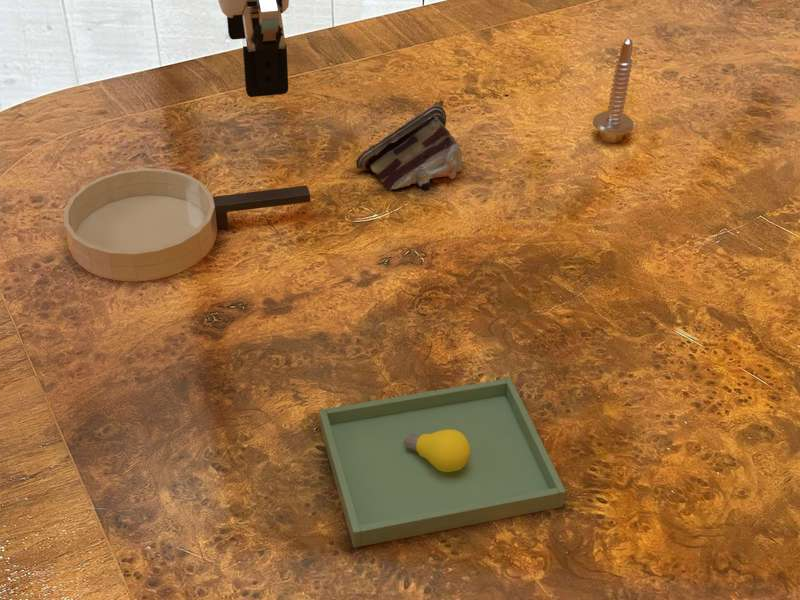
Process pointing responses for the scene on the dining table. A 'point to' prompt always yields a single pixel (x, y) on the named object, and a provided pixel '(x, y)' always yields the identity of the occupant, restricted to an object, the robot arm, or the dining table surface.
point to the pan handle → (257, 201)
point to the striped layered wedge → (415, 152)
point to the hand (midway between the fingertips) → (257, 64)
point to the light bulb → (441, 449)
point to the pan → (140, 224)
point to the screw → (617, 100)
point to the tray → (419, 480)
